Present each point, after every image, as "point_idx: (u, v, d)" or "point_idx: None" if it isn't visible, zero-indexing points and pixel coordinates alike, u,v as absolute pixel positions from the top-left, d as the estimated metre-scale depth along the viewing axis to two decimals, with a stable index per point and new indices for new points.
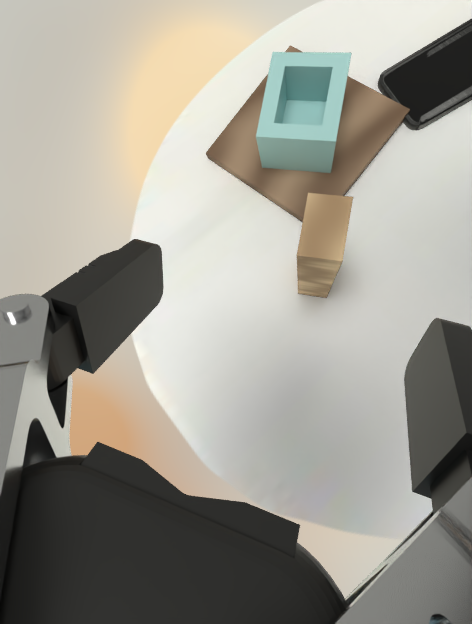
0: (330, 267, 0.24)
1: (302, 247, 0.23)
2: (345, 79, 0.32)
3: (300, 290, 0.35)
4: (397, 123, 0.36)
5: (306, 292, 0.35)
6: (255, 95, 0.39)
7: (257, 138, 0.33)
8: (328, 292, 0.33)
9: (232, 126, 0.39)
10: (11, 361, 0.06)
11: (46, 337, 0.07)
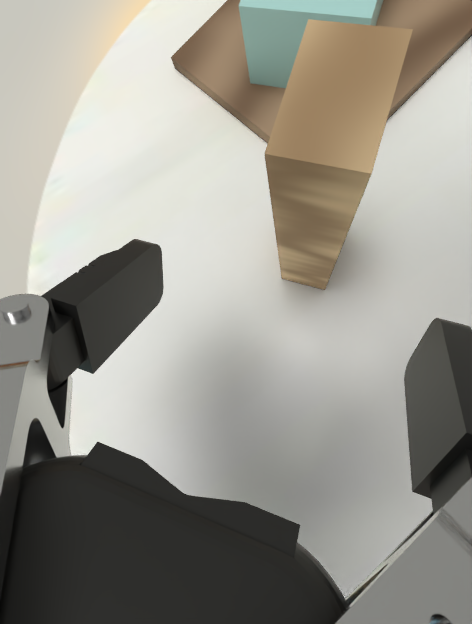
0: (339, 202, 0.11)
1: (279, 138, 0.10)
2: None
3: (284, 272, 0.21)
4: (467, 30, 0.23)
5: (294, 276, 0.22)
6: None
7: (241, 11, 0.20)
8: None
9: (214, 22, 0.26)
10: (11, 361, 0.06)
11: (46, 337, 0.07)
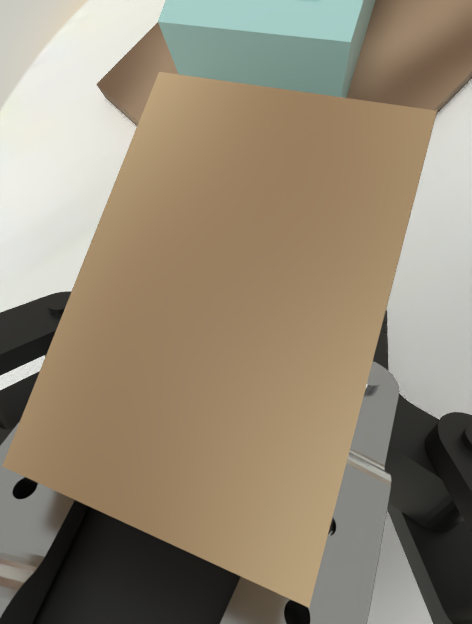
0: None
1: (48, 419, 0.03)
2: None
3: None
4: None
5: None
6: None
7: (163, 29, 0.14)
8: None
9: (153, 38, 0.20)
10: None
11: None
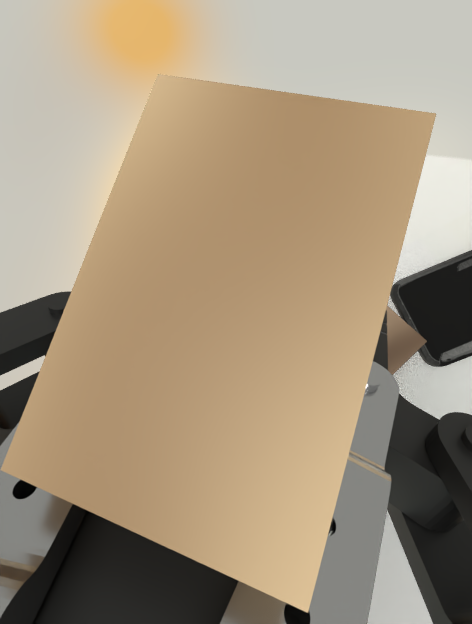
0: None
1: (47, 423, 0.03)
2: None
3: None
4: (408, 356, 0.27)
5: None
6: None
7: None
8: None
9: None
10: None
11: None
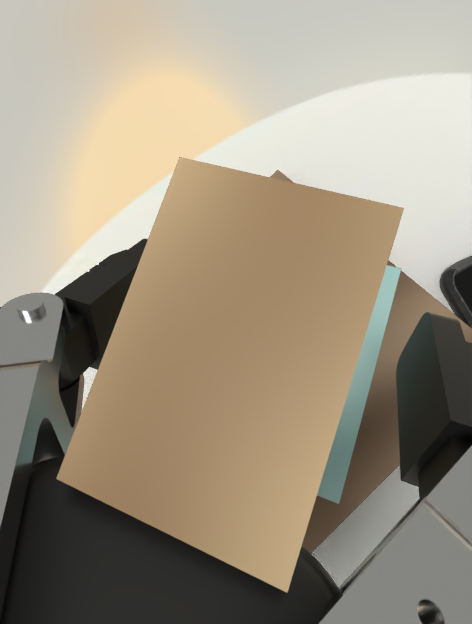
0: None
1: (92, 443, 0.04)
2: (380, 336, 0.13)
3: None
4: None
5: None
6: None
7: None
8: None
9: None
10: (24, 359, 0.06)
11: (61, 335, 0.07)
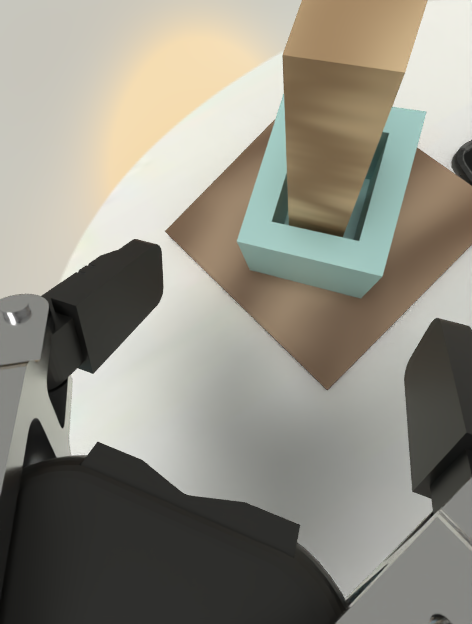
0: (363, 124, 0.10)
1: (300, 37, 0.09)
2: (411, 160, 0.17)
3: None
4: None
5: None
6: (253, 149, 0.25)
7: (239, 243, 0.18)
8: None
9: (211, 194, 0.25)
10: (11, 361, 0.06)
11: (46, 337, 0.07)
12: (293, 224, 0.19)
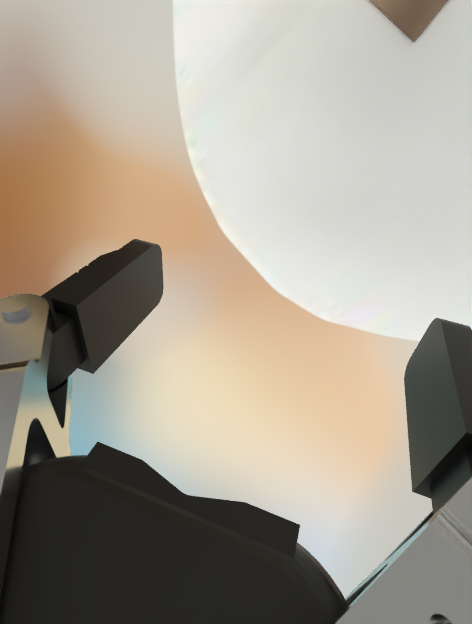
0: None
1: None
2: None
3: None
4: None
5: None
6: None
7: None
8: None
9: None
10: (11, 361, 0.06)
11: (46, 337, 0.07)
12: None
